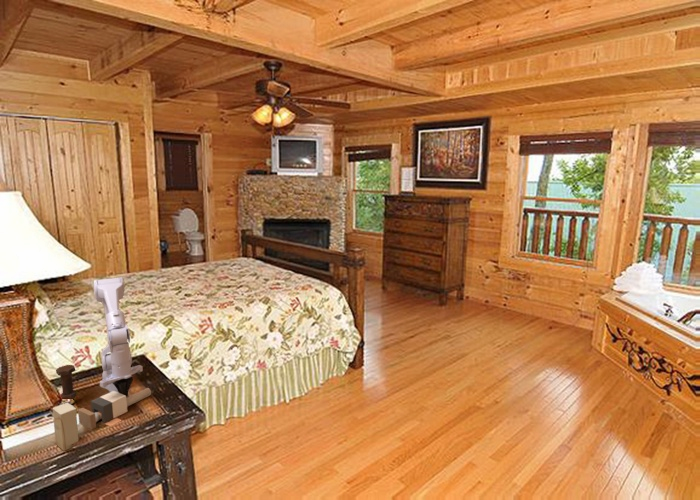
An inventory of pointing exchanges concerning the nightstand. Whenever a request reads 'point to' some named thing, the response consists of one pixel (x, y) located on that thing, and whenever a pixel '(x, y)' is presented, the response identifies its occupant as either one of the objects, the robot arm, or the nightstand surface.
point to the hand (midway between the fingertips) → (123, 397)
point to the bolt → (67, 381)
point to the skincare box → (65, 425)
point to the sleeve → (117, 402)
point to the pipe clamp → (91, 418)
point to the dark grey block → (103, 408)
